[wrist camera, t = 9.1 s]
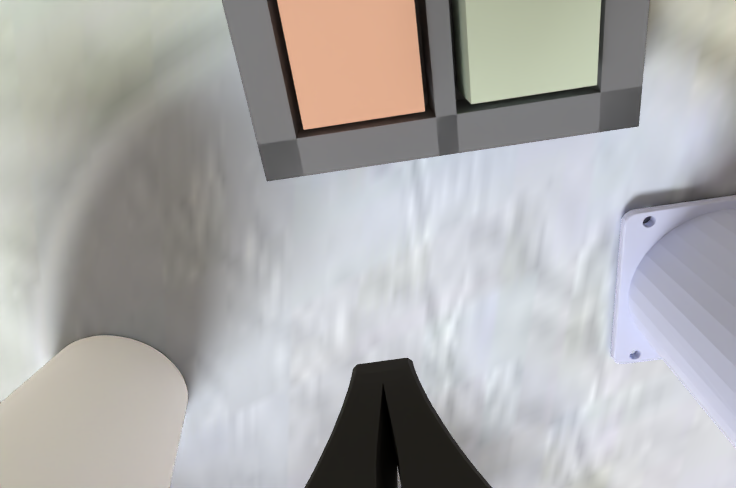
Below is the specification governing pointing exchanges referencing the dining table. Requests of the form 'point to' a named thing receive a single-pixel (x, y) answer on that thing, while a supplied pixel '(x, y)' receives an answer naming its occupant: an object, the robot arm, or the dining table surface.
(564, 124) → the grey divided tray
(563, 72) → the sage key
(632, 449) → the dining table surface
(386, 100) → the terracotta key
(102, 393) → the cup
